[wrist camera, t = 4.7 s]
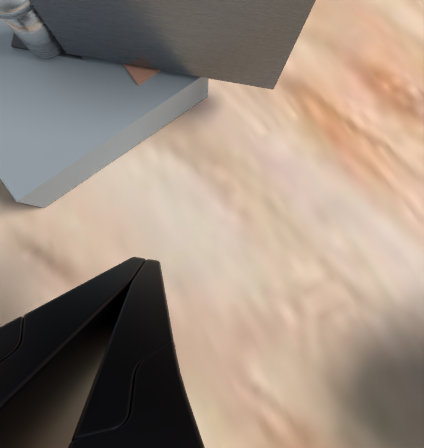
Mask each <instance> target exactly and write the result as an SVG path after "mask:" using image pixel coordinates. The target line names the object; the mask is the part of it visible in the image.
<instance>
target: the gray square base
mask: <svg viewBox="0 0 424 448" xmlns="http://www.w3.org/2000/svg"><path fill="white" fill-rule="evenodd" d="M207 96H208V78H204V77H199V76H193V75H187V74H182V73H176V72H170V71H164V70H159V69H153V68H147V67H141V66H136V65H130V64H124V63H119V62H113V61H107V60H101V59H96V58H90V57H84V56H78V55H73V54H67V53H66V52H65V50H64V49H63V51H62V52H61V53H60V54H58V55H57V56H55V57H52V58H41V57H38V56H36V55H34V54H33V53H32V52H31V51H30V50H29V49H28V48H27V47H26V45H25V44H24V43H23V42H22V41H21V40H20V39H19V38H18V36H17V35H16V34H15V33H14V32H13V31H12V30H11V28H10V27H9V26H8V25H7V24H6V23H5V22H4V21H3V19H1V18H0V179H1V181H2V182H3V183H4V185H5V186H6V188H7V189H8V190H9V192H10V193H11V195H12V196H13V198H14V199H15V200H16V202H20V203H25V204H29V205H34V206H38V207H43V208H45V207H47V206H48V205H50V204H51V203H53V202H54V201H56V200H57V199H58V198H60V197H61V196H63V195H64V194H66V193H67V192H69V191H70V190H72V189H73V188H75V187H76V186H78V185H79V184H80V183H82V182H83V181H85V180H86V179H88V178H89V177H91V176H92V175H94V174H95V173H97V172H98V171H99V170H101V169H102V168H104V167H105V166H107V165H108V164H110V163H111V162H113V161H114V160H116V159H117V158H119V157H120V156H121V155H123V154H124V153H126V152H127V151H129V150H130V149H132V148H133V147H135V146H136V145H138V144H139V143H141V142H142V141H143V140H145V139H146V138H148V137H149V136H151V135H152V134H154V133H155V132H157V131H158V130H160V129H161V128H162V127H164V126H165V125H167V124H168V123H170V122H171V121H173V120H174V119H176V118H177V117H179V116H180V115H182V114H183V113H184V112H186V111H187V110H189V109H190V108H192V107H193V106H195V105H196V104H198V103H199V102H201V101H202V100H203V99H205V98H206V97H207Z"/></svg>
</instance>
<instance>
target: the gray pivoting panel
mask: <svg viewBox="0 0 424 448" xmlns="http://www.w3.org/2000/svg"><path fill="white" fill-rule="evenodd" d="M315 1H316V0H0V18H1V19H3V21H4V22H5V23H6V24H7V25H8V26H9V27H10V28H11V30H12V31H13V32H14V33H15V34H16V35H17V36H18V38H19V39H20V40H21V41H22V42H23V43H24V44H25V45H26V47H27V48H28V49H29V50H30V51H31V52H32V53H33V54H34V55H36V56H38V57H41V58H52V57H55V56H57V55H58V54H60V53H61V52H62V51H63V49H64V50H65V52H66V53H67V54H73V55H78V56H84V57H90V58H96V59H101V60H107V61H113V62H119V63H124V64H130V65H136V66H141V67H147V68H153V69H159V70H164V71H170V72H176V73H182V74H187V75H193V76H199V77H204V78H210V79H216V80H222V81H227V82H233V83H239V84H245V85H250V86H256V87H262V88H267V89H274V87H275V85H276V83H277V81H278V79H279V76H280V74H281V72H282V70H283V68H284V66H285V64H286V62H287V60H288V58H289V55H290V53H291V51H292V49H293V47H294V45H295V43H296V41H297V39H298V36H299V34H300V32H301V30H302V28H303V26H304V24H305V22H306V20H307V17H308V15H309V13H310V11H311V9H312V7H313V5H314V3H315Z"/></svg>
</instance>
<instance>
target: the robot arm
mask: <svg viewBox="0 0 424 448" xmlns="http://www.w3.org/2000/svg"><path fill="white" fill-rule="evenodd" d="M0 448H205V447H204V444H203V442H202V439H201V436H200V433H199V430H198V427H197V424H196V421H195V418H194V415H193V412H192V409H191V406H190V403H189V400H188V397H187V394H186V390H185V387H184V384H183V380H182V377H181V373H180V369H179V364H178V360H177V355H176V349H175V344H174V341H173V334H172V328H171V323H170V317H169V311H168V306H167V300H166V294H165V288H164V283H163V277H162V271H161V266H160V262H159V261H156V260H150V259H148V260H145V259H144V258H138V257H132V258H130V259H128V260H126V261H124V262H122V263H121V264H119V265H117V266H115V267H113V268H111V269H109V270H107V271H106V272H104V273H102V274H100V275H98V276H96V277H94V278H93V279H91V280H89V281H87V282H85V283H83V284H81V285H79V286H78V287H76V288H74V289H72V290H70V291H68V292H66V293H65V294H63V295H61V296H59V297H57V298H55V299H53V300H51V301H50V302H48V303H46V304H44V305H42V306H40V307H38V308H37V309H35V310H33V311H31V312H29V313H27V314H25V315H24V318H23V317H19V318H17V319H15V320H13V321H11V322H9V323H7V324H5V325H4V326H2V327H0Z"/></svg>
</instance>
